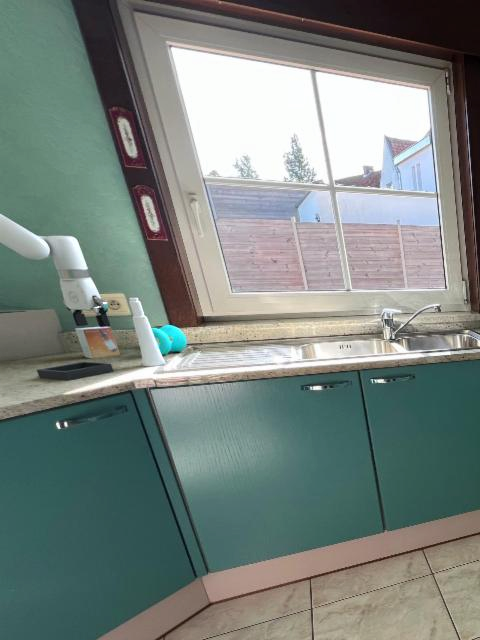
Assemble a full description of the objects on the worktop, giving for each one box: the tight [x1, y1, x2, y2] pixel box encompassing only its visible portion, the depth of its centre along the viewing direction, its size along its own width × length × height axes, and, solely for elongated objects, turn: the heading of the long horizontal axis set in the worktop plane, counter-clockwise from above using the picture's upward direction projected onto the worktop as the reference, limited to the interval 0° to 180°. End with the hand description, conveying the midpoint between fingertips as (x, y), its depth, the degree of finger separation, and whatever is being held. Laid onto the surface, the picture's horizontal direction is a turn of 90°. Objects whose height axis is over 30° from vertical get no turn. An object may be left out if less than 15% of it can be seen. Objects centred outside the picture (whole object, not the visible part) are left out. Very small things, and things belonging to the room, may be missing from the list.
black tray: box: [36, 361, 114, 381], centre depth 153 cm, size 11×13×3 cm
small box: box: [74, 326, 121, 359], centre depth 175 cm, size 8×6×10 cm
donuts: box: [151, 324, 188, 356], centre depth 184 cm, size 10×10×10 cm
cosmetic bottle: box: [128, 297, 167, 367], centre depth 164 cm, size 6×6×22 cm
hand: (93, 326), depth 174 cm, fingers open, 9 cm apart
